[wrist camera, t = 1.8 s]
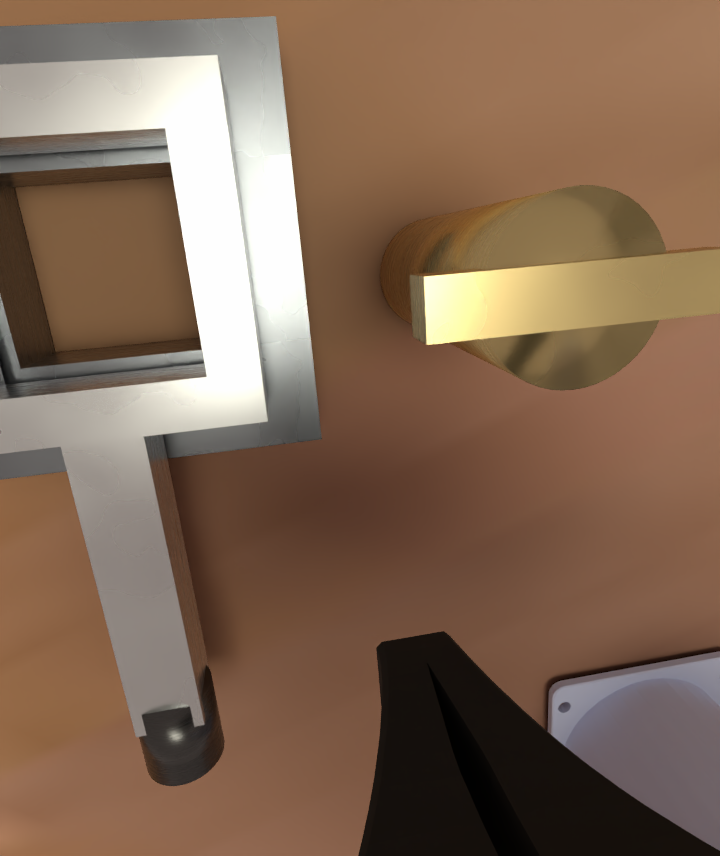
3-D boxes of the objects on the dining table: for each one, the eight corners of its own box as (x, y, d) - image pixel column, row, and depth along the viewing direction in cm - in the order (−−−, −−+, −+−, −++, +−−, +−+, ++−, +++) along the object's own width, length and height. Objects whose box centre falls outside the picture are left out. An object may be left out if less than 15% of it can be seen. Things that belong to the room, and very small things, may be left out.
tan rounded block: (513, 318, 18) (731, 377, 9) (352, 335, 17) (430, 414, 9) (513, 211, 17) (756, 170, 8) (342, 225, 16) (420, 196, 8)
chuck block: (315, 415, 18) (321, 439, 16) (-21, 456, 17) (-67, 487, 14) (274, 52, 15) (276, 16, 13) (-140, 70, 14) (-222, 34, 11)
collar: (309, 701, 18) (314, 759, 16) (67, 744, 17) (39, 812, 15) (225, 83, 13) (216, 51, 11) (-132, 102, 12) (-218, 70, 10)
